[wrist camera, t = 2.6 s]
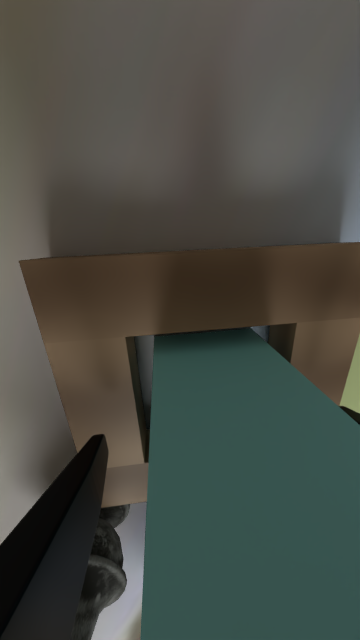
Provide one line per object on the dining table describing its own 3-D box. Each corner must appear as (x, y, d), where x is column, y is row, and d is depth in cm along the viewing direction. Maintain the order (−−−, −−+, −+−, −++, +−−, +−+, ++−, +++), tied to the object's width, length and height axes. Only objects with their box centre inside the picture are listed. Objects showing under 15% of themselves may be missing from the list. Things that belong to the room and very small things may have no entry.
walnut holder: (298, 445, 14) (319, 476, 12) (103, 471, 13) (94, 508, 11) (340, 242, 10) (385, 241, 8) (49, 257, 9) (18, 260, 7)
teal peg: (244, 404, 12) (516, 904, 3) (161, 414, 12) (175, 1023, 3) (250, 328, 11) (936, 939, 1) (154, 336, 10) (109, 1305, 1)
